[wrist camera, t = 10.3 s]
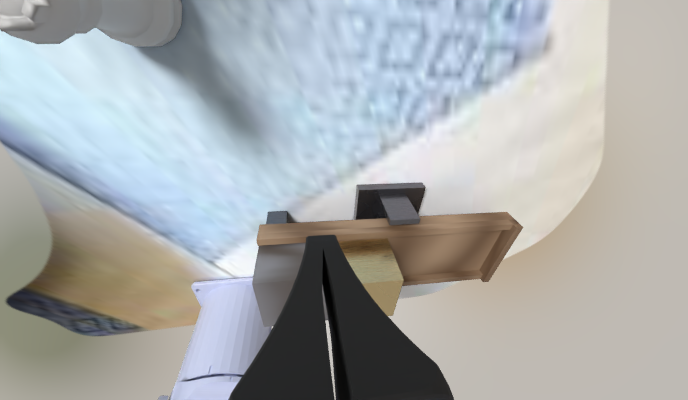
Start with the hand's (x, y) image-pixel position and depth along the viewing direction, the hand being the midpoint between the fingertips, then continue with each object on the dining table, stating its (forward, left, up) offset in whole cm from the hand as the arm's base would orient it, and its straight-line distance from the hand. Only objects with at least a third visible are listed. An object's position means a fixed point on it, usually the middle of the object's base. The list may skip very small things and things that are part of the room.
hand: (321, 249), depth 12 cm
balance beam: (-7, -7, -6) cm, 12 cm away
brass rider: (-8, -3, -6) cm, 10 cm away
